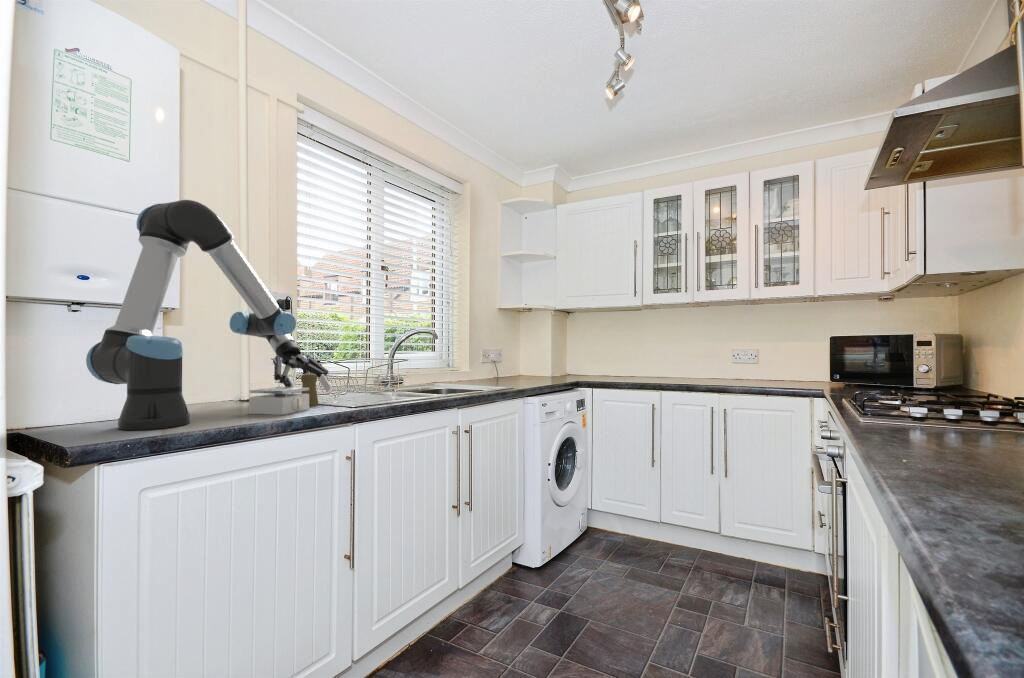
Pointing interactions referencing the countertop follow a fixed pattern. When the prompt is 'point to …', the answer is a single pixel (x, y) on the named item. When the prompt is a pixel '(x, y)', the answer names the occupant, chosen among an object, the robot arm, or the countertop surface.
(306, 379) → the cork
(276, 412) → the kitchen scale
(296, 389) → the scale pan
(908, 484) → the countertop surface
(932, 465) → the countertop surface
